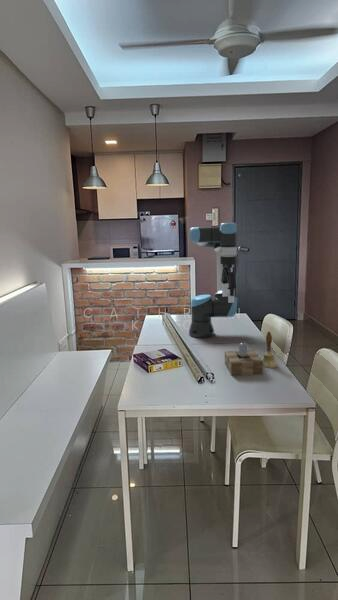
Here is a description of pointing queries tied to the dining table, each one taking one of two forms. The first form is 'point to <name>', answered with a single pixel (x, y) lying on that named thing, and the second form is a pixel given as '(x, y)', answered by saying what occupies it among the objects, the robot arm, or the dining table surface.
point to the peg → (242, 350)
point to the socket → (243, 363)
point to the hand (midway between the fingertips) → (228, 299)
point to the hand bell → (269, 354)
